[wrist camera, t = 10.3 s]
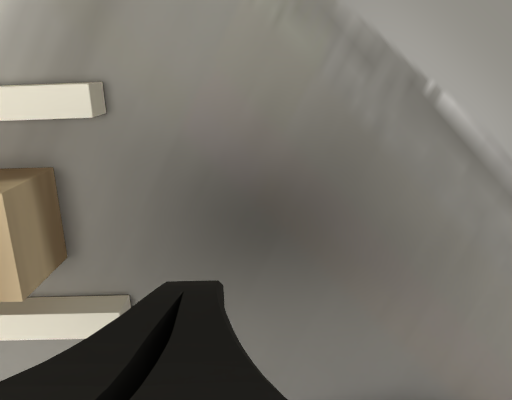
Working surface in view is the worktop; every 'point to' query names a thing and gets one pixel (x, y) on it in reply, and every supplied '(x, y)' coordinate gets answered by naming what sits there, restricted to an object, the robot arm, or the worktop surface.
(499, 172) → the worktop surface
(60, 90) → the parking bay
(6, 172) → the oak block
